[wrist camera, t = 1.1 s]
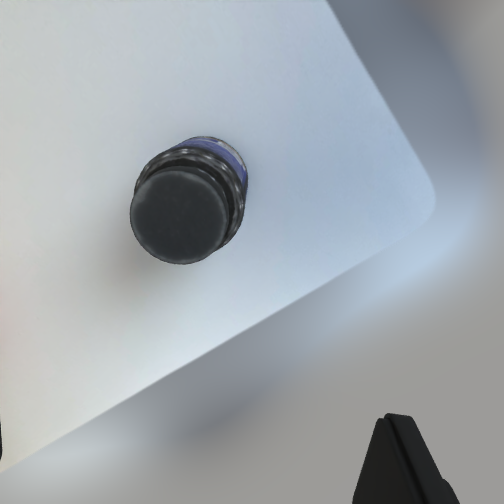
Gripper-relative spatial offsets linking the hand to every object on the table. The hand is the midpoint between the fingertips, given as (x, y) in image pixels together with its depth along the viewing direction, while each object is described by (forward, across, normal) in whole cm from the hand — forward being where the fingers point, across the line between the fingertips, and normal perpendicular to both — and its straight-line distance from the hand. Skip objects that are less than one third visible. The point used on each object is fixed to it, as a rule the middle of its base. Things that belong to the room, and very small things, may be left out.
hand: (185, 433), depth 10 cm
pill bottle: (+22, +2, -2) cm, 22 cm away
